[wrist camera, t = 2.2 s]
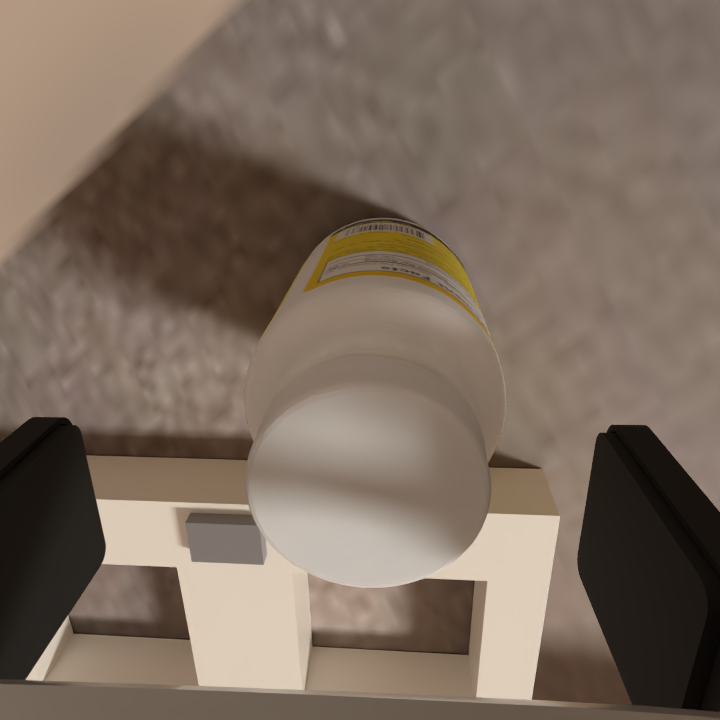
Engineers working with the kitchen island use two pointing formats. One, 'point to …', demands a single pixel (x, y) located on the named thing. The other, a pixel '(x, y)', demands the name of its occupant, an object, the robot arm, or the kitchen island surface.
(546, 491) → the socket plate
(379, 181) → the kitchen island surface
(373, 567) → the supplement bottle
